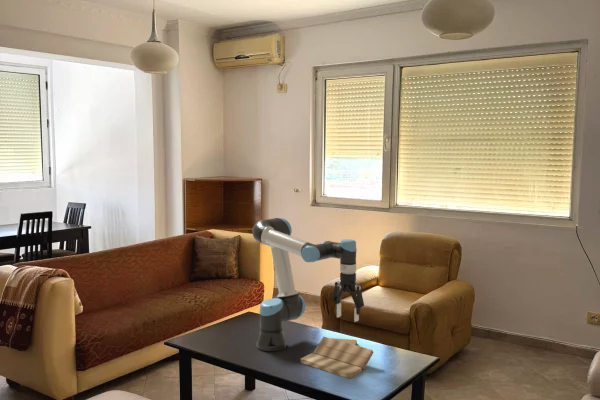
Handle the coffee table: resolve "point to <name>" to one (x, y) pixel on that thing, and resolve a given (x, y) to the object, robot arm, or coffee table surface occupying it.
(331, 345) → the board
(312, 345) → the coffee table surface
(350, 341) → the crown molding
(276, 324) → the robot arm
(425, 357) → the coffee table surface
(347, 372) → the laid board
